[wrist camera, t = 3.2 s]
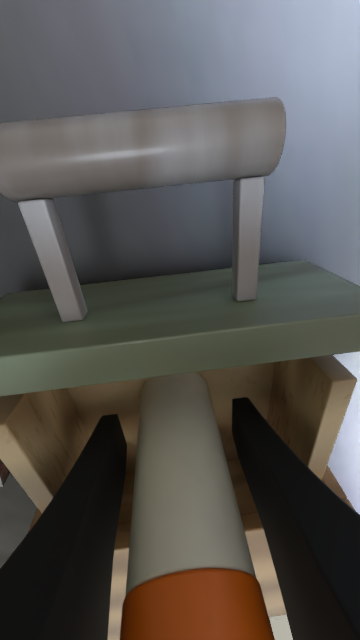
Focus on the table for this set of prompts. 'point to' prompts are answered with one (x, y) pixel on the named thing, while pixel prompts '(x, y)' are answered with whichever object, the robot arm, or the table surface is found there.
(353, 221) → the table surface
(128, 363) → the drawer
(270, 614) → the cabinet
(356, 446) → the table surface
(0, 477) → the book
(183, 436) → the glue stick
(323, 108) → the table surface
